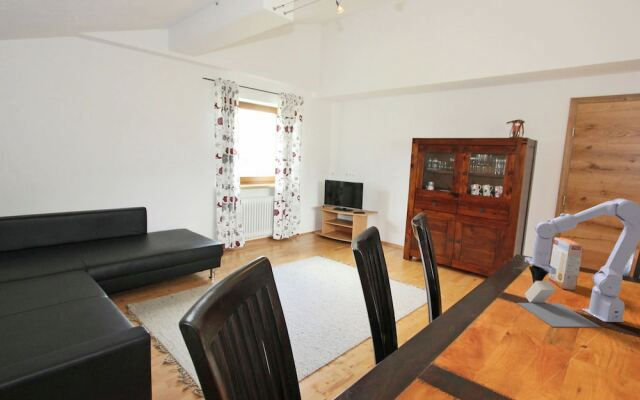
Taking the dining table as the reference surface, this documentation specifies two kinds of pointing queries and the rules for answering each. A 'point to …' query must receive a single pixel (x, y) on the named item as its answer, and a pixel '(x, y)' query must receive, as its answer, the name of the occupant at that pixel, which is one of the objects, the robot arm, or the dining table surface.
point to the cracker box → (565, 263)
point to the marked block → (540, 291)
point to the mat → (557, 315)
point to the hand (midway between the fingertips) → (536, 284)
